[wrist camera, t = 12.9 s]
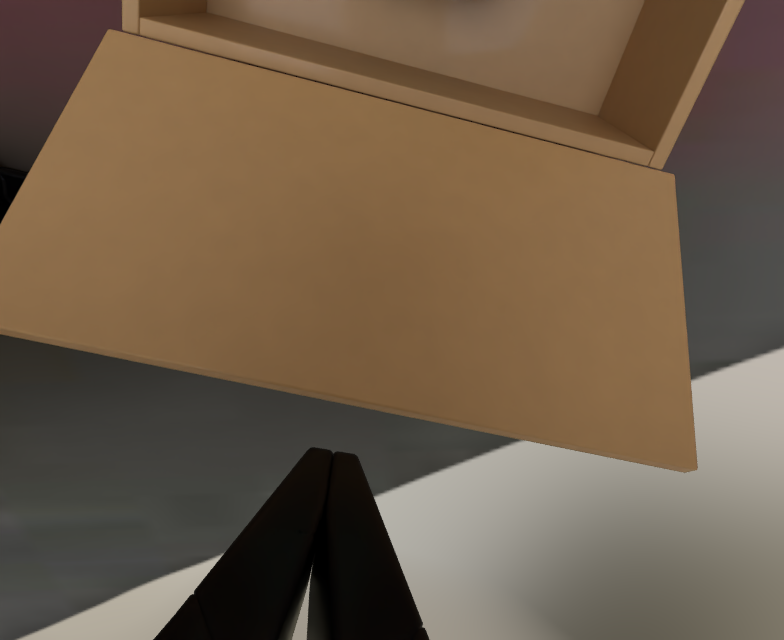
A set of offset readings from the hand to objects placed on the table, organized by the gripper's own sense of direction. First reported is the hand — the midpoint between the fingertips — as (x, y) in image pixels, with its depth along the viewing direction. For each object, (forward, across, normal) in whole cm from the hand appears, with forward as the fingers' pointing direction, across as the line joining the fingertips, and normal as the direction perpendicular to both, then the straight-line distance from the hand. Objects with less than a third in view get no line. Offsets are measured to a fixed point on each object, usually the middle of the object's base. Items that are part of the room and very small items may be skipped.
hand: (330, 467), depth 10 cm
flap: (+4, 0, -3) cm, 5 cm away
